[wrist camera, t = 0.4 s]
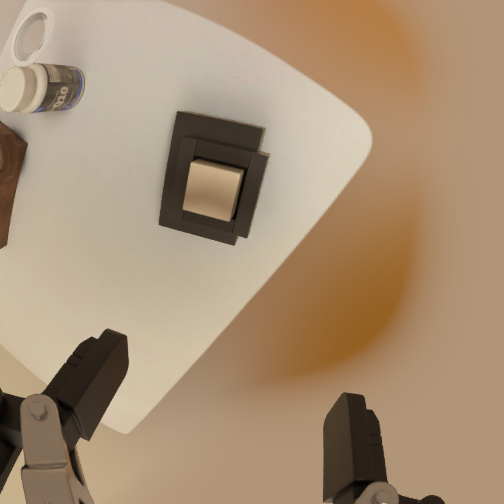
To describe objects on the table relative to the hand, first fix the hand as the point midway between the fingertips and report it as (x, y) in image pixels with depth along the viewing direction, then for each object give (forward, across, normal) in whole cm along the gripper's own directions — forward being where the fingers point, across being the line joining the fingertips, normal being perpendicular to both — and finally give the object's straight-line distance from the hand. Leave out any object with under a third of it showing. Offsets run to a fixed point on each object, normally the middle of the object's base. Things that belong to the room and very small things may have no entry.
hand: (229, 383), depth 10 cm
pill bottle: (+19, +23, -9) cm, 31 cm away
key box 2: (+19, +6, -2) cm, 20 cm away
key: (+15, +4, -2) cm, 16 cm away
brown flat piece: (+19, +36, +4) cm, 40 cm away
